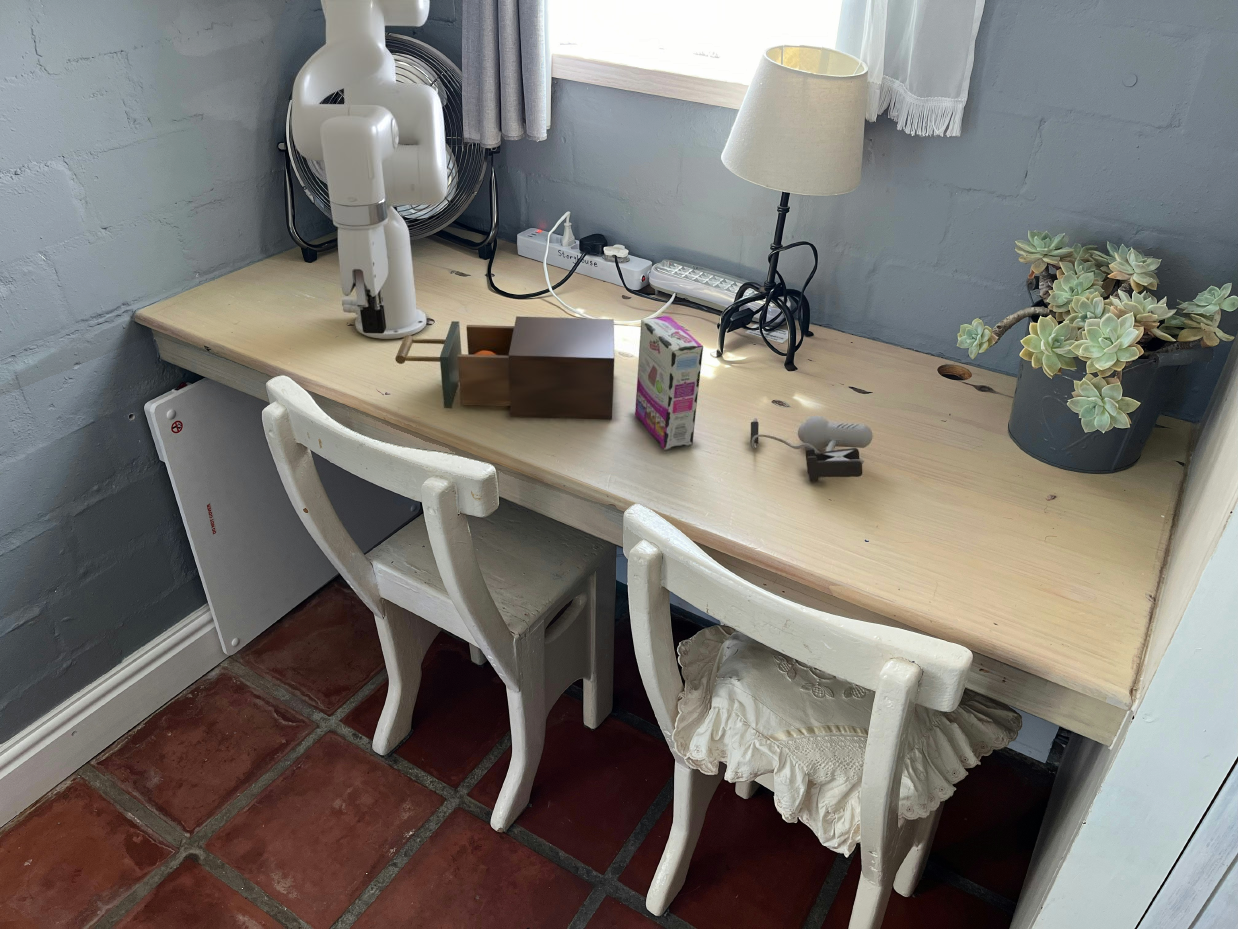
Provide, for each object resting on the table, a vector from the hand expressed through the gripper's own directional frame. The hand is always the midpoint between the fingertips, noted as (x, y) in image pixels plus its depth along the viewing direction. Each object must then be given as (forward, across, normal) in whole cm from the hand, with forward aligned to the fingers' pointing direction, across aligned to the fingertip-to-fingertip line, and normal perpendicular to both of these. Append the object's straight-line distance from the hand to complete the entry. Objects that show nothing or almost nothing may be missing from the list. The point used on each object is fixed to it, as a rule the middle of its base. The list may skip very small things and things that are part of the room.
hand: (374, 330), depth 133 cm
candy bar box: (+11, +9, +44) cm, 46 cm away
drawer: (+10, 0, +14) cm, 17 cm away
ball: (+6, 0, +16) cm, 18 cm away
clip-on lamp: (+11, +16, +64) cm, 67 cm away
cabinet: (+11, 0, +29) cm, 31 cm away
